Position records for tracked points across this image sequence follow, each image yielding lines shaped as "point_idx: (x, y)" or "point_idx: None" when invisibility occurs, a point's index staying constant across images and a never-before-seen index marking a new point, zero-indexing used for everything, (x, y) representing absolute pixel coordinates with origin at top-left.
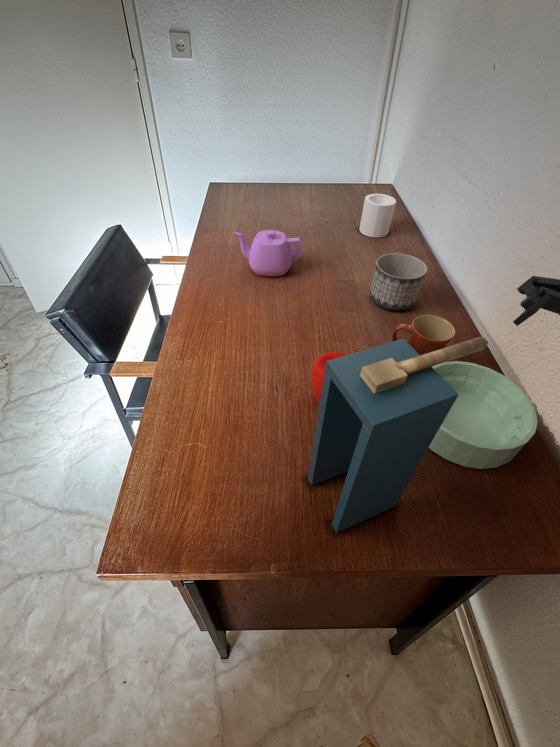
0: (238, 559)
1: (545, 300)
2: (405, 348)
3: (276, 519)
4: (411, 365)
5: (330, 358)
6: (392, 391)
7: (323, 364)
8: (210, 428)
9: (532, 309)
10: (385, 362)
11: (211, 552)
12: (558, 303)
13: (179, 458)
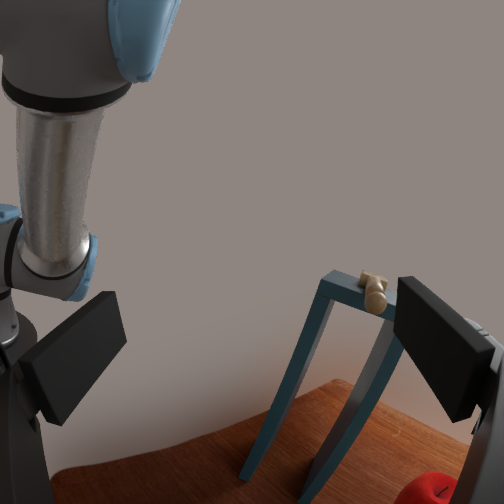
0: (300, 401)
1: (452, 321)
2: None
3: (308, 426)
4: (371, 276)
5: None
6: (354, 281)
7: (448, 480)
8: (408, 445)
9: (409, 277)
10: (384, 279)
11: (315, 398)
12: (472, 466)
13: (390, 422)
